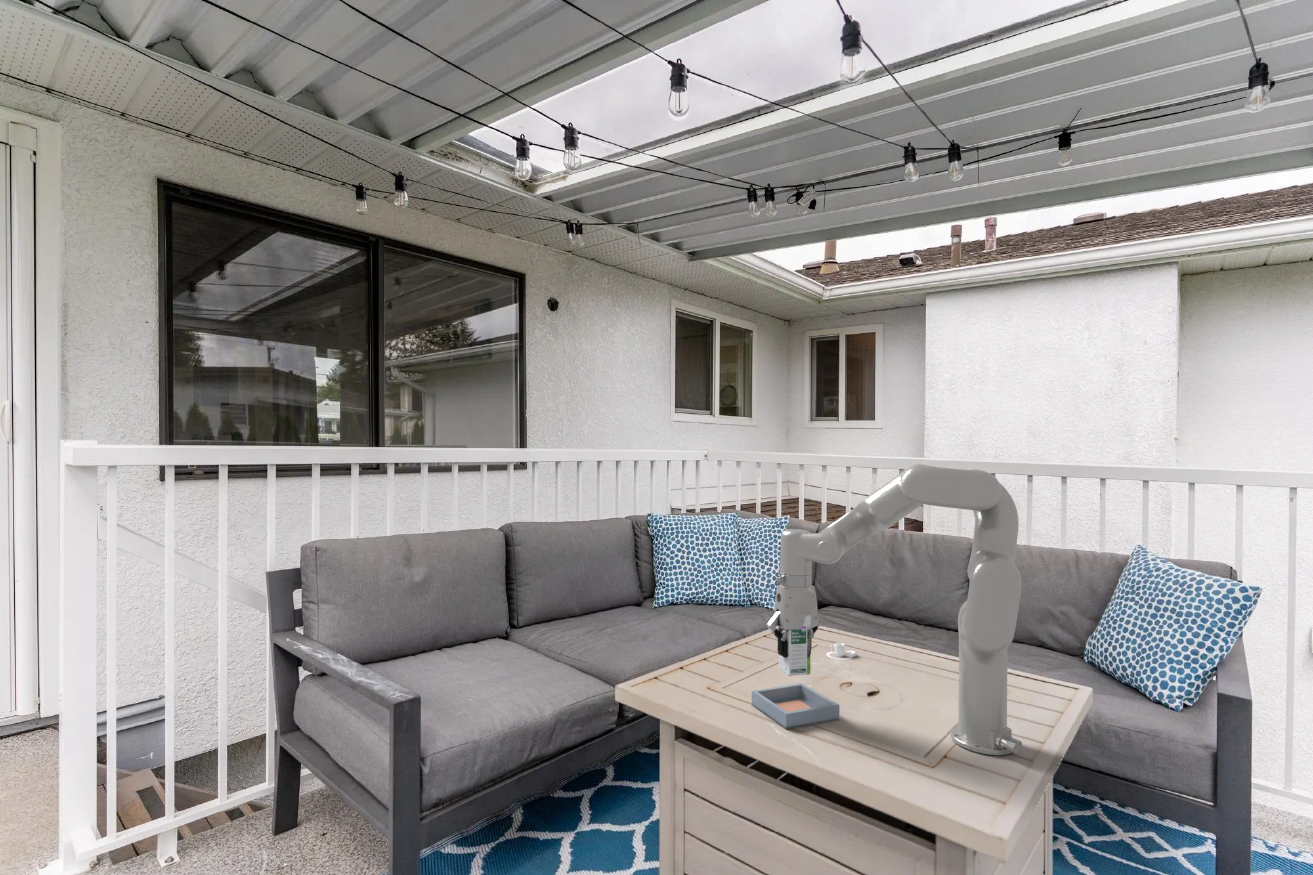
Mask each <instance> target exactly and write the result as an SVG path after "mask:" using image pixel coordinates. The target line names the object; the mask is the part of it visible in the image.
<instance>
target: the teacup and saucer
mask: <svg viewBox="0 0 1313 875" xmlns="http://www.w3.org/2000/svg"><path fill="white" fill-rule="evenodd" d="M832 646H833V647H834V648H832ZM845 647H846V646H845V643H843V642H834V644H831V645H830V651H829V652H826V654H825V655H826V656H827V657H828V658H830V659H833V660H839V661H846V660H847V661H848V660H852V659H854V657H856V656H857V652H856V651H855V650H847V651H845ZM833 649H834V651H833ZM831 654H833V655H835V657H834V656H832V655H831ZM844 656H845V657H847V658H842V657H844ZM836 657H837V658H836Z"/></svg>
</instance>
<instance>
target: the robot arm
mask: <svg viewBox="0 0 1313 875" xmlns="http://www.w3.org/2000/svg"><path fill="white" fill-rule="evenodd" d="M923 505H927V506H934V507H941V508H951V509H959V510H968V511H972V512H973V515H974V529H973V539H972V545H971V550H970V551H971V552H970V556H969V557H970V558H969V562H968V565H967V570H966V571H967V576H968V580H969V585H968V591H967V599H966V601H965V602H963V604H962V605H961V606H960V609H959V611H958V616H957V621H958V622H957V628H958V630H957V631H958V726H957V725H956V726H955V727H953V728H952V729H950V738H951V739H952V741H953V742H955V744H957V745H958V746H960V747H962V748H964V749H966V750H969V751H971V752H975V753H978V754H981V755H982V754H983V755H989V756H1004V755H1005V756H1006V755H1010V754H1012V753H1013V754H1018V753H1019V751H1020V748H1021V747H1022V744H1023V742H1022V741H1021V740H1019V739H1017V738H1015V737H1013V736H1012V735H1013V734H1012V732H1013V731H1012V728H1010V727H1009V726H1008V648H1009V646H1010V645H1011V644H1012V642H1013V640H1014V636H1015V632H1016V629H1017V628H1016V627H1017V622H1018V621H1017V620H1018V614H1019V608H1020V602H1021V601H1020V600H1021V595H1022V576H1021V573H1020V570H1019V569H1018V567H1017V565H1016V554H1017V553H1016V552H1017V546H1018V536H1019V525H1020V524H1019V523H1020V522H1019V514H1018V510H1017V506H1016V503H1015V502H1014V500H1013V498H1012V496H1011V494H1010V493H1009V491H1008V490H1007V489H1006V488H1005V486H1004V485H1003V484H1002V483H1001V482H999V480H998V479H997V477H995V476H994V475H993V474H992V473H991V472H990V473H989V472H987V471H985V470H982V469H962V468H961V469H960V468H951V467H950V468H948V467H938V466H931V465H926V464H923V463H920V464H919V463H918V464H914V465H911V466H910V467H909V466H908V468H906V469H905V470H903V471H902V472H901V473H899V474H897V475H896V476H895V477H893V478H892V479H890V480H889V481H888V482H886V483H885V484H883V485H882V486H881V487H879V488H878V489H877V490H875V491H873V492H872V493H870V494H869V495H867V496H866V497H865V498H863V499H862V500H860V502H858V504H857V505H856V506H855V507H854V508H852V509H851V510H850V511H848V512H846V514H844V515H843V516H841V517H839V518H838V519H837V520H836V521H834V522H833V523H831V524H830V525H828V526H827V527H825V528H824V529H823V530H821V531H819V532H817V533H815V532H814V533H813V532H810V531H808V530H806V529H800V528H799V529H798V528H788V529H785V530H783V531H782V532H781V534H780V565H779V568H780V569H779V571H780V572H779V576H776V582H777V583H779V585H778V586H777V588H776V594H775V600H774V609H773V610H774V614H773V616H772V617H771V618H770V620H769V621H768V622H767V624H766V627H767V628H768V629H769V630H770V632H771V633H772V634H773V635H774V636H775V638H776V639H777V654H778V656H779V655H781V656H783V657H784V658H786V657H788V641H786V637H787V635H788V630H795V629H800V628H802V627H803V625H804V622H805V619H806V616H808V615H811V645H810V655H811V654H812V639H813V638H814V637H815V633H816V632H817V631H818V629H819V627H820V626H821V625H822V623H823V619H822V618H821V617H820V616H819V614H818V611H819V610H818V599H817V593H816V589H815V585H812V582H813V581H812V577H813V576H812V575H813V574H812V573H813V572H812V568H813V566H812V565H813V563H819V564H821V565H823V564H824V565H833V564H835V563H837V562H838V561H839V560H841V558H842V556H844V554H845V553H847V552H848V551H849V550H850V549H852V548H853V547H855V546H857V545H859V543H861V542H862V541H864V540H865V539H867V538H868V537H870V536H873V535H874V534H877V533H880V532H883V531H885V530H887V529H889V528H891V527H892V526H893V525H895V524H896V523H898V522H899V521H901V520H902V519H903V518H905V517H907V516H908V515H910V514H912V513H913V512H914V511H916V510H917V509H919V507H922V506H923ZM812 562H813V563H812ZM804 616H805V617H804ZM803 617H804V618H805V619H804V618H803ZM803 619H804V620H803ZM802 620H803V621H802ZM776 626H777V627H776ZM782 631H783V632H782Z"/></svg>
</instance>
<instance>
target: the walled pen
mask: <svg viewBox="0 0 1313 875" xmlns="http://www.w3.org/2000/svg"><path fill="white" fill-rule="evenodd" d="M751 706H753V707H754V708H755V709H757V710H758V711H759V712H760V713H761V714H763V715H765V716H766V717H768V718H769V719H770V720H771V721H773V722H774V723H776V724H777V725H779V726H780V727H782V729H784V730H791V729H796V728H801V727H807V726H813V725H818V724H824V723H829V722H834V721H840V704H839V703H837V702H836V701H834V700H831V699H830V698H828V697H826V696H825V695H823V694H821V693H819V691H816V690H814V689H812V688H811V687H809V686H807V685H806V684H804V683H803V682H802V683H794V684H787V685H781V686H774V687H768V688H762V689H761V688H760V689H755V690H751Z"/></svg>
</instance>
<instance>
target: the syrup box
mask: <svg viewBox="0 0 1313 875" xmlns="http://www.w3.org/2000/svg"><path fill="white" fill-rule="evenodd" d="M804 617H805V616H804ZM804 617H803V618H804ZM804 619H805V618H804ZM804 619H803V620H804ZM803 620H802V621H803ZM782 632H783V631H782ZM786 641H788V657H786V658H784V657H783V656H781V655H779V654H778V668H779V670H780V671H781V672H783V673H784V674H785V675H787V676H788V677H792V676H795V677H796V676H805V675H811V654H810V645H811V646H812V644H811V615H808V616H806V619H805V622H804V625H803V627H802V628H800V629H795V630H788V635H787V637H786Z"/></svg>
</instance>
